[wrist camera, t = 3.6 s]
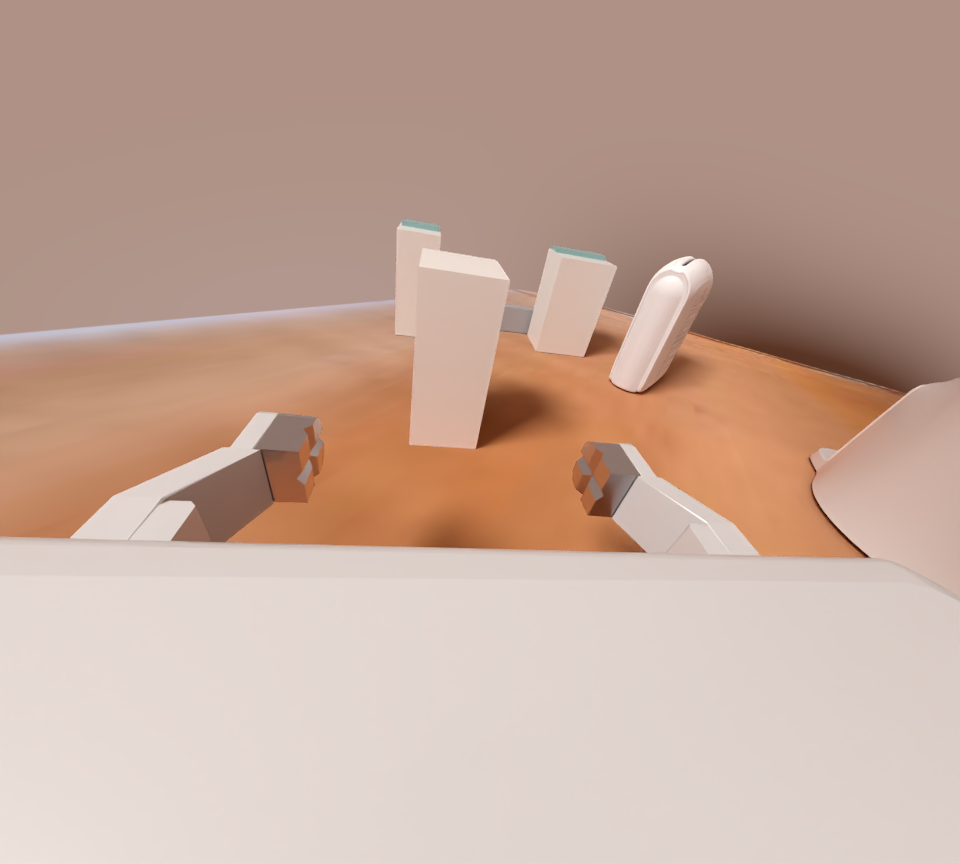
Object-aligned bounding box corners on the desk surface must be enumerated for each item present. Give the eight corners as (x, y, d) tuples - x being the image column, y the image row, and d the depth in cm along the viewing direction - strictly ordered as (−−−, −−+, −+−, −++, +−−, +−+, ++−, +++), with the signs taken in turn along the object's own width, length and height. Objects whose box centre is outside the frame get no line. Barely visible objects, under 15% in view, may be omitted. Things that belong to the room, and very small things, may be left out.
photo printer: (634, 360, 43) (685, 251, 36) (668, 374, 41) (729, 262, 34) (600, 381, 36) (655, 252, 29) (639, 399, 34) (708, 265, 27)
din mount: (567, 335, 46) (594, 250, 40) (583, 357, 41) (618, 262, 35) (400, 314, 42) (403, 216, 36) (395, 334, 37) (396, 223, 31)
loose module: (470, 408, 28) (496, 259, 21) (475, 448, 23) (510, 280, 17) (413, 403, 27) (422, 247, 20) (409, 444, 23) (418, 266, 16)
